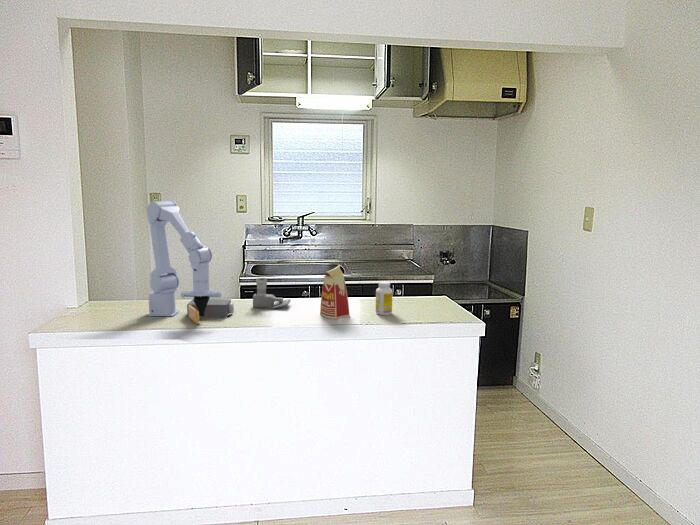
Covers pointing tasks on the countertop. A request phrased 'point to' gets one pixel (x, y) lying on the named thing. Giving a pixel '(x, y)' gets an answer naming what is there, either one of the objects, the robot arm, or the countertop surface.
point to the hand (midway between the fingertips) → (202, 316)
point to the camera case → (215, 307)
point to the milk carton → (334, 295)
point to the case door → (193, 314)
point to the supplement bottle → (384, 298)
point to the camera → (266, 297)
